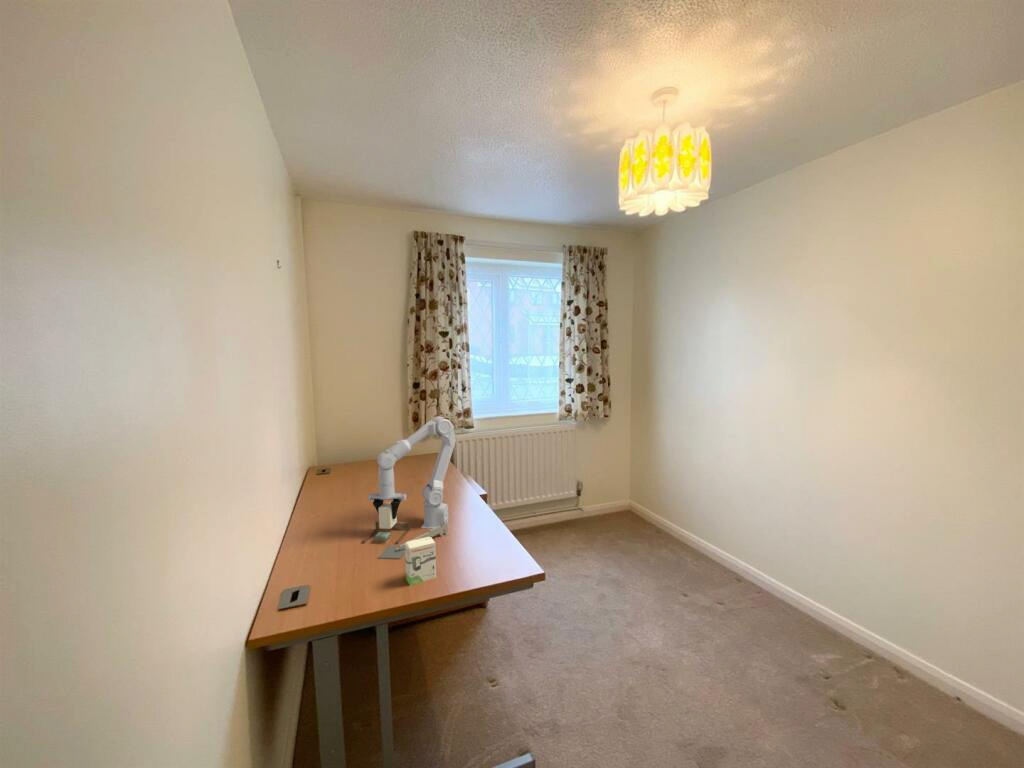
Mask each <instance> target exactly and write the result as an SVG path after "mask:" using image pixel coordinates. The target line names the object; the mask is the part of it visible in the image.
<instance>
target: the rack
mask: <svg viewBox="0 0 1024 768" xmlns="http://www.w3.org/2000/svg"><path fill="white" fill-rule="evenodd" d="M374 524H375V525H374V526H375V529H373V530H372V531H371V532H370V533H369V534H368V535H367V536H366V537H365V538H364V539H362V541H361V542H362V544H366V542H367V541H369V540H370V538H371V537H372V536H373V535H375V534H376V532H377V531H404V532H403V533H402V534H401V535H400V536H399V538H398V539H397V540H396V541H395V545H398V544H400V542H402V540H403V538H405V536H406V534H408V532H409V531H410V530H411V529H410V528H411V527H410V522H408V521H407V522H405V521H404V522H403V521H397V523H396V524H395V525H394V526H393V527H392V528H391V529H379V521H375V523H374Z"/></svg>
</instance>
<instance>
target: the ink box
mask: <svg viewBox="0 0 1024 768" xmlns="http://www.w3.org/2000/svg"><path fill="white" fill-rule="evenodd" d="M411 540H412V539H411ZM404 543H405V542H404ZM436 554H437V553H436V541H435V540H434V539H433V537H431V536H429V537H426V538H421V539H416V540H412V541H410V540H408V541H406V543H405V554H404V560H405V561H404V563H405V581H406V582H407V583H408V585H409V586H413V585H416V584H419V583H422V582H425V581H426V582H427V581H428V580H432V579H435V578H437V562H436V561H437V559H436V558H437V557H436Z"/></svg>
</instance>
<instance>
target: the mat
mask: <svg viewBox="0 0 1024 768" xmlns="http://www.w3.org/2000/svg"><path fill="white" fill-rule="evenodd" d="M398 547H399V545H388V546H387V547H386V548H385V549H384V550H383V551H382V553H380V554H379V556H378V557H377V559H378V560H382V559H383V560H401V559H402V558H403V556H405V548H404V549H402V550H400V549H399V550H396V548H398Z"/></svg>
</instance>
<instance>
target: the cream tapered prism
mask: <svg viewBox="0 0 1024 768" xmlns="http://www.w3.org/2000/svg"><path fill="white" fill-rule="evenodd" d="M397 518H398V517H397V515H396V518H395V519H393V518H392V506H391V502H383V505H381V506H380V507H379V515H378V522H379V529H391V528H392V527H393V526H394V525H395V524H396V523H397V522H398V519H397Z"/></svg>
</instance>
